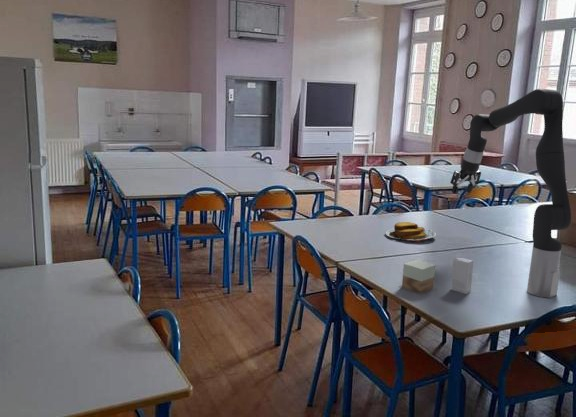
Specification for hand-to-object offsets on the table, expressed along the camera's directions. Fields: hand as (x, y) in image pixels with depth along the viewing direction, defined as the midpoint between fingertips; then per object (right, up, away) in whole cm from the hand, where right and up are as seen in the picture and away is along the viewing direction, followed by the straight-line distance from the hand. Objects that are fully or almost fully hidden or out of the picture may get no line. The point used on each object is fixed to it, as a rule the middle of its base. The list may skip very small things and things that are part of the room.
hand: (461, 192), depth 238 cm
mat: (-30, -37, -42) cm, 63 cm away
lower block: (-30, -36, -42) cm, 63 cm away
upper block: (-30, -32, -43) cm, 61 cm away
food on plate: (-15, -22, +32) cm, 41 cm away
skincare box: (-14, -38, -43) cm, 59 cm away
